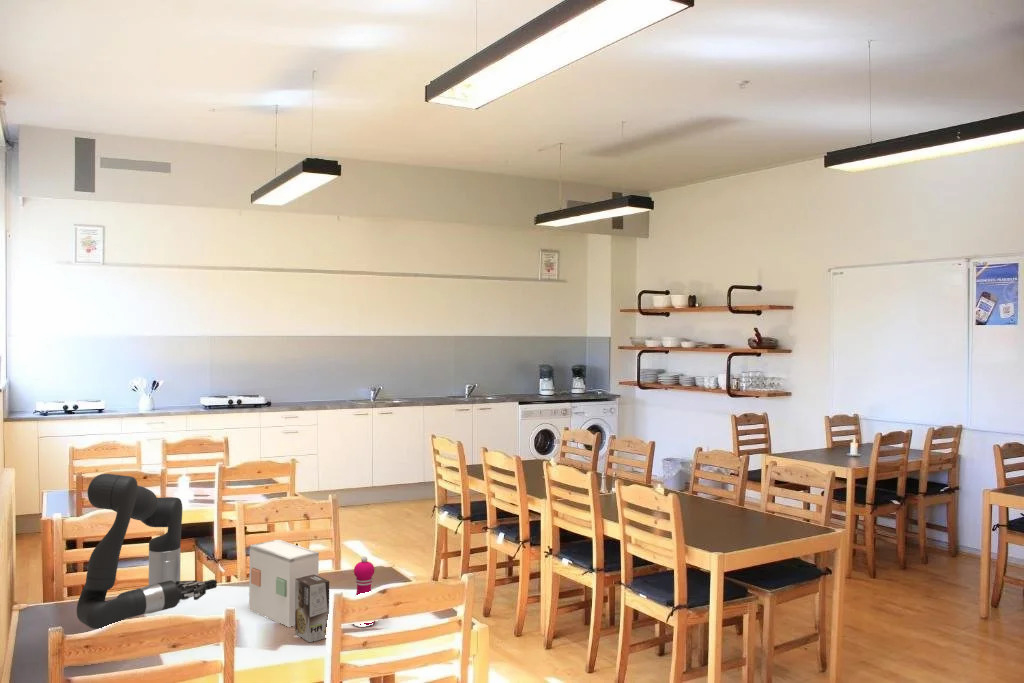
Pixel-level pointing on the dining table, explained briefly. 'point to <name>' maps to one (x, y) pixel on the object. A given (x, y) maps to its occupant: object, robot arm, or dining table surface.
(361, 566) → the pepper mill
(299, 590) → the coffee box
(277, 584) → the sage button
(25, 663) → the dining table surface
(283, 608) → the button panel
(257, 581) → the terracotta button
